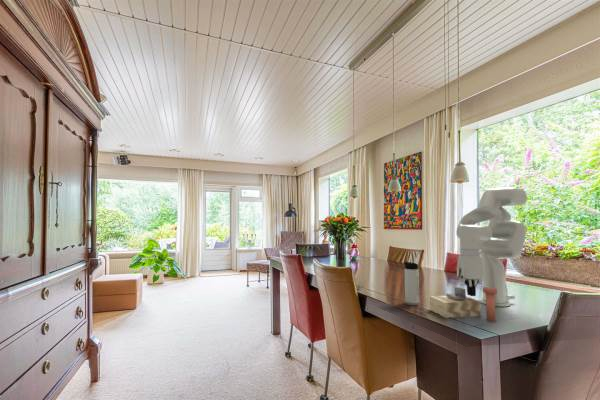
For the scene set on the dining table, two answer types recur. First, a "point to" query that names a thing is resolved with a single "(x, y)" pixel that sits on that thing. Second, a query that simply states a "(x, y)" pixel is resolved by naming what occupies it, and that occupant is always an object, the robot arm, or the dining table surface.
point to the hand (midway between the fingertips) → (471, 295)
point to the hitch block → (455, 307)
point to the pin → (490, 303)
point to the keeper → (458, 294)
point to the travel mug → (411, 283)
